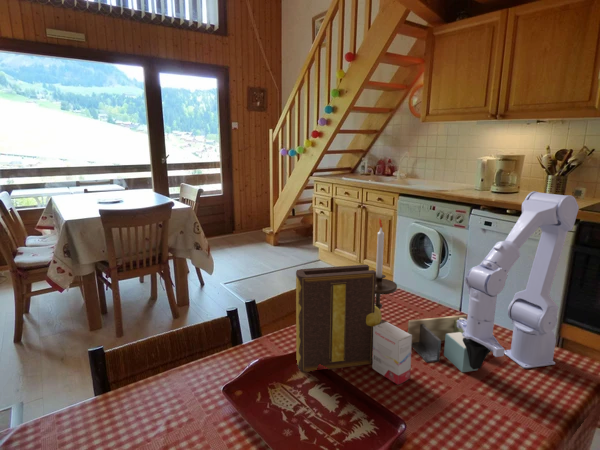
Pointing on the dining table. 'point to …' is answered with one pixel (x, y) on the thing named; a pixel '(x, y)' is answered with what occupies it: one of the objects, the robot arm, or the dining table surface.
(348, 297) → the book
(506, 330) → the dining table surface
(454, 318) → the shelf wall
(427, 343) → the bookend
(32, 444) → the dining table surface
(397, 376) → the ink box
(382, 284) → the candlestick
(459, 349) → the boxed book
